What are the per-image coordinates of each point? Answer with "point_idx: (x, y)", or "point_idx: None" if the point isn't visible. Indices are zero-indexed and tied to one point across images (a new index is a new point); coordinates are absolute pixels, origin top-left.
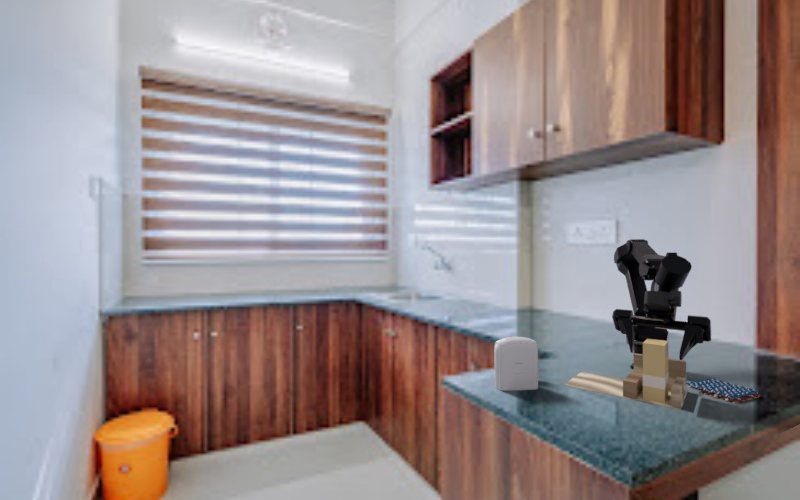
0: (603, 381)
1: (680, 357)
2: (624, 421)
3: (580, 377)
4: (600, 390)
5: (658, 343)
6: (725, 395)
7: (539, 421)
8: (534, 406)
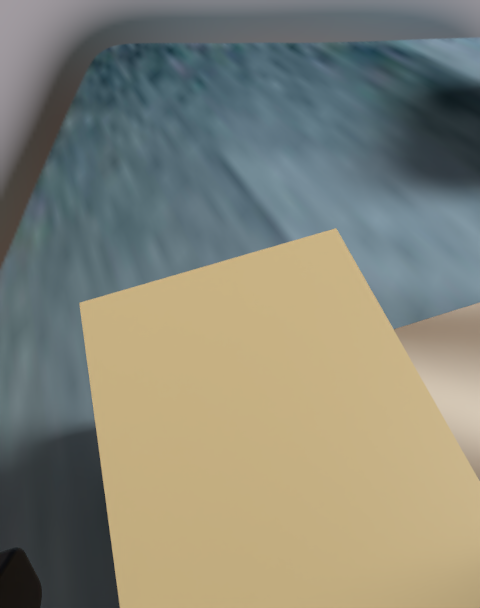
0: None
1: (8, 552)
2: (218, 187)
3: None
4: (457, 341)
5: (198, 383)
6: None
7: (335, 51)
8: (422, 90)
